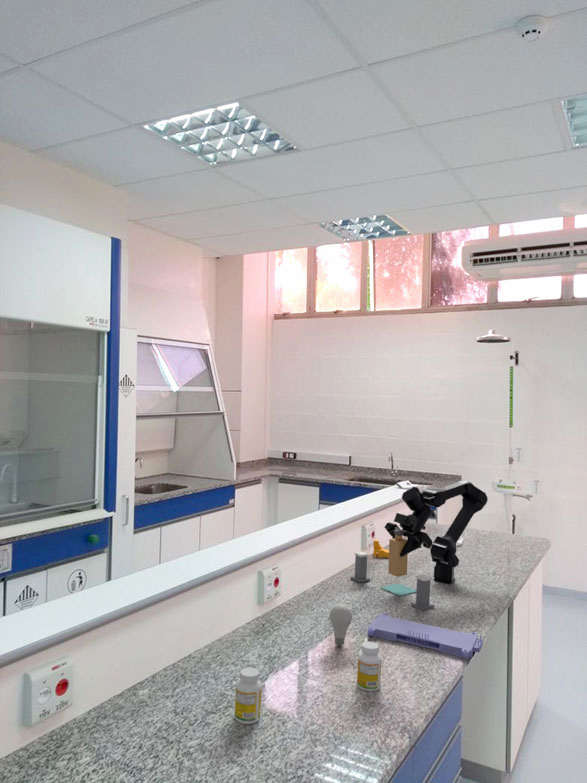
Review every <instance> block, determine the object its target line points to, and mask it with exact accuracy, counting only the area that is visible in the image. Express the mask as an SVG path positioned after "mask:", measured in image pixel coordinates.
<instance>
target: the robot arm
mask: <svg viewBox="0 0 587 783" xmlns="http://www.w3.org/2000/svg"><path fill="white" fill-rule="evenodd" d="M458 496H461V497H462V502H461V503H462V506H461V508H460V509H459V511H458V513H457V515H456V516H455V518H454V520H453V521H452V523H451V525H450V526H449V527H448V529H447V531H446V532H445V534H444V536H440V535H439V536H436V537H435V538H434V541H433V540H432V539H431V537H430V536H429V534H428V533H427V532H423V531H424V530H426V524H427V522H428V520H429V519H430V518H436V513H435V509H432V508H431V507H433V508H440V507H442V506H443V505H445V504H446V502H447V501H448V500H450V499H453V498H455V497H458ZM401 499H402V501H403V503H404V504H405V505H406V506H407V507H408V509H409V510H410V511H411V512H412V513H410V514H408V515H406V514H401V513H399V512H396V514H395V517H394V519H393V522H395V523H393V522H386V524H385V526H384V529H385V530H386V531H387V532H388V534H389V535H390V537H392V538H391V539H393V538H395V534H394V533H395V530H401V531H403V535H402V537H406V538H407V539H406V540H407V543H406V544H405V546H404V548H403V549H402V551H401V553H400V556H401V557H403V556H405V555H406V554H409V553H412V552H413V551H415V550H418V549H422V547H424V548H426V549H429V550H430V556H431V561H432V562H434V563H435V565H434V566H433V581H435V582H441V583H446V584H452V583H453V582H454V581H455V580H456V577H455V568H456V567H458V566H459V564H460V559H459V557H458V556H457V554H456V553H457V542H458V541H459V539H460V538H461V536H462V534H463V533H464V531H465V530H466V528H467V526H468V524H469V523H470V521H471V520H472V518H473V516H474V515H475V514H476V513H478V512H480V511H482V510H483V509H484V507H485V506H486V505H487V503H488V500H489V499H488V495H487V494H486V492H485V491H483V490H482V489H480V488H478V487H477V486H475V485H474V484H473V483H472V482H470V481H466V480H459V481H457V482H455V483H452V484H449V485H446V486H444V487H440V488H425V489H423V491H422V492H421V491H420V489H419V488H418V487H417V486H411V488H408V489H407V490H405V491H403V493H402V495H401ZM396 523H397V524H396ZM398 524H399V526H398ZM401 528H402V529H401ZM422 530H423V531H422Z"/></svg>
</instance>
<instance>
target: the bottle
mask: <svg viewBox="0 0 587 783" xmlns="http://www.w3.org/2000/svg"><path fill="white" fill-rule="evenodd" d="M401 530H402V529H401ZM401 530H395V533H394V534H395V538H393V539H392V538H389V539H388V540H389V544H388V545H389V546H388V550H389V558H388V571H387V572H388V574H390V575H392V576H394V577H397V578H399V577H404V576H407V575H408V557H409V556H408V554H409V553H408V554H406V555H405V556H403V557H401V556H400V553H401V551H402V549H403V548H404V546H405V544H406V543H407V539H405V538H403V536H402V535H403V531H401Z"/></svg>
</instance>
